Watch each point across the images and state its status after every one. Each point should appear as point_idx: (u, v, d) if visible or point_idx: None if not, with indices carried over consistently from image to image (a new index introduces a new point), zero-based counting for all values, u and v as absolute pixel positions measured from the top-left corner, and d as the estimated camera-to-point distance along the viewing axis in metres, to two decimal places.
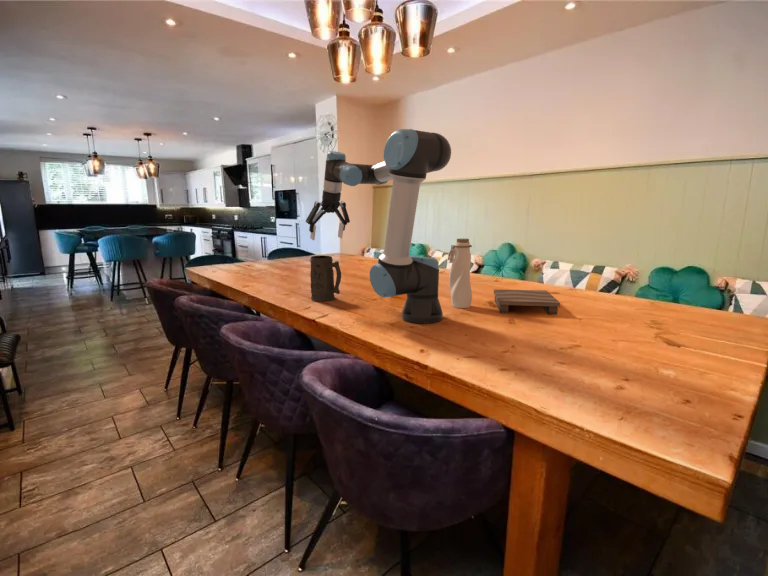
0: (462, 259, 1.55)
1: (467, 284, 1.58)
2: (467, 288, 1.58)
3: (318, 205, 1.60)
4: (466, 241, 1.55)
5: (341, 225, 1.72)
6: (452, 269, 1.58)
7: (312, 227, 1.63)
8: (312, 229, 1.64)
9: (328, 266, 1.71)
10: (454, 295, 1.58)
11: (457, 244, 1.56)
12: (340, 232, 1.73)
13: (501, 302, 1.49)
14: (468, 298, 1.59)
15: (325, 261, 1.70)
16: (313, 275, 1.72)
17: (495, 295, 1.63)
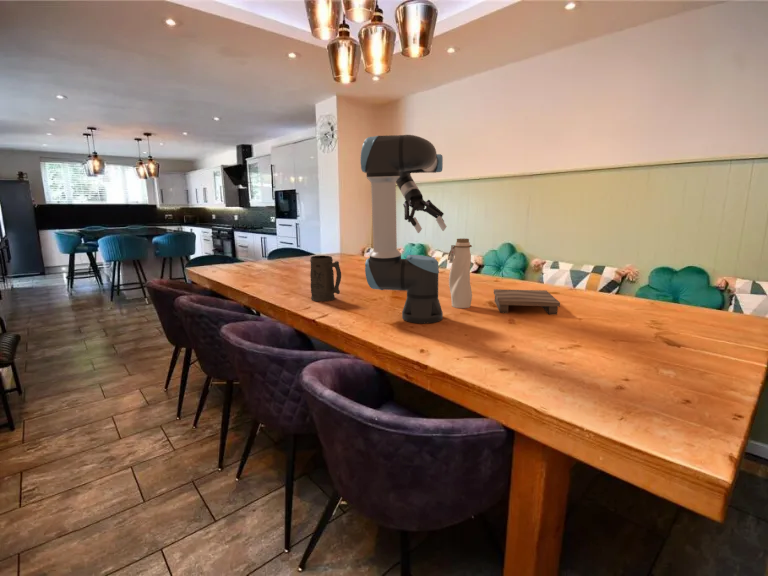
0: (462, 259, 1.55)
1: (467, 284, 1.58)
2: (467, 288, 1.58)
3: (407, 202, 1.69)
4: (466, 241, 1.55)
5: (438, 218, 1.72)
6: (452, 269, 1.58)
7: (413, 219, 1.64)
8: (414, 221, 1.64)
9: (328, 266, 1.71)
10: (454, 295, 1.58)
11: (457, 244, 1.56)
12: (441, 223, 1.71)
13: (501, 302, 1.49)
14: (468, 298, 1.59)
15: (325, 261, 1.70)
16: (313, 275, 1.72)
17: (495, 295, 1.63)
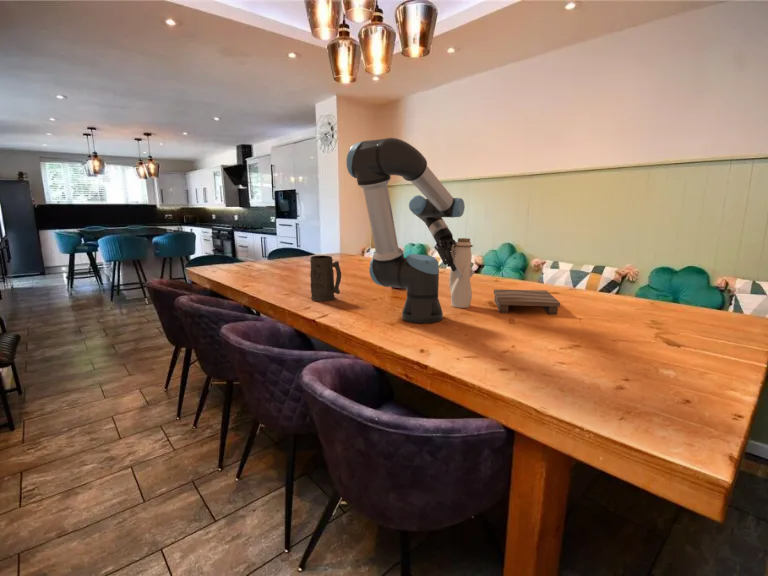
0: (462, 259, 1.56)
1: (467, 284, 1.58)
2: (467, 288, 1.58)
3: (439, 244, 1.60)
4: (467, 241, 1.55)
5: None
6: None
7: (453, 264, 1.57)
8: (454, 266, 1.56)
9: (328, 266, 1.71)
10: (454, 294, 1.58)
11: (458, 243, 1.56)
12: None
13: (501, 302, 1.49)
14: (468, 297, 1.59)
15: (325, 261, 1.70)
16: (313, 275, 1.72)
17: (495, 295, 1.63)
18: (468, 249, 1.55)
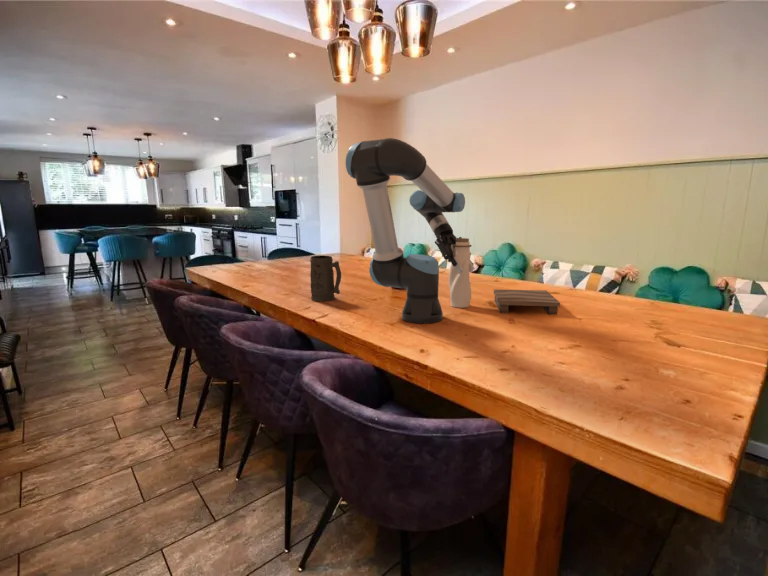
0: (461, 259, 1.56)
1: (465, 284, 1.58)
2: (465, 288, 1.58)
3: (439, 239, 1.60)
4: (465, 241, 1.55)
5: None
6: (451, 268, 1.60)
7: (453, 259, 1.56)
8: (455, 261, 1.56)
9: (328, 266, 1.71)
10: (452, 294, 1.59)
11: (456, 243, 1.57)
12: (469, 264, 1.59)
13: (501, 302, 1.49)
14: (467, 297, 1.59)
15: (325, 261, 1.70)
16: (313, 275, 1.72)
17: (495, 295, 1.63)
18: (466, 249, 1.56)
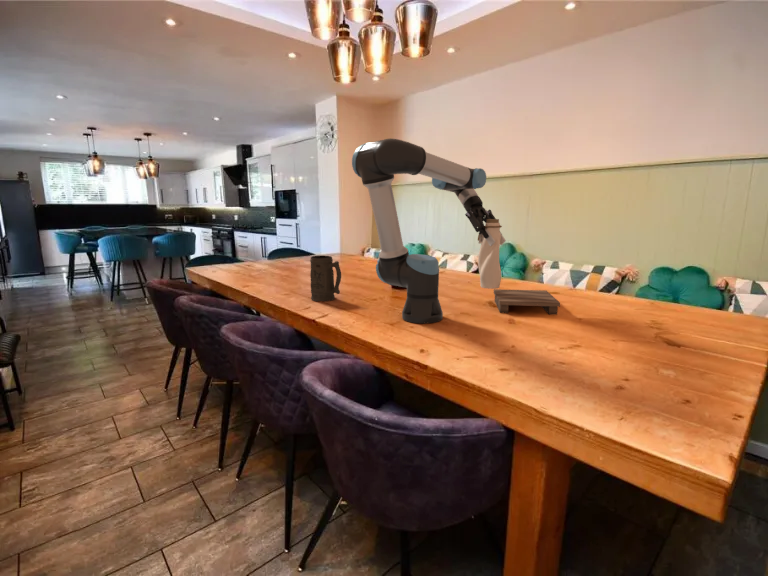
0: None
1: (496, 264, 1.58)
2: (496, 269, 1.58)
3: (470, 212, 1.59)
4: (496, 221, 1.55)
5: None
6: (481, 249, 1.59)
7: (485, 232, 1.56)
8: (486, 233, 1.55)
9: (328, 266, 1.71)
10: (483, 275, 1.59)
11: (486, 224, 1.56)
12: None
13: (501, 302, 1.49)
14: (497, 278, 1.59)
15: (325, 261, 1.70)
16: (313, 275, 1.72)
17: (495, 295, 1.63)
18: (497, 229, 1.55)
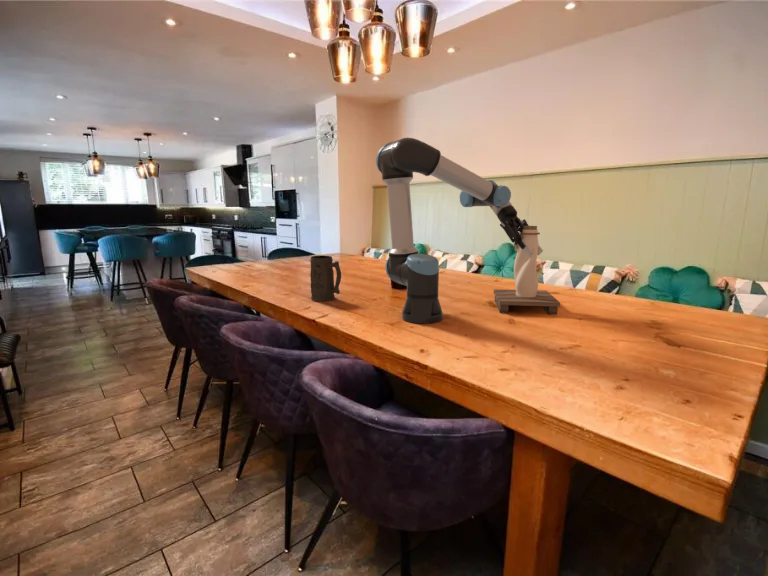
0: None
1: (533, 273, 1.53)
2: (533, 277, 1.53)
3: (505, 222, 1.55)
4: (534, 228, 1.50)
5: None
6: (518, 257, 1.55)
7: (522, 242, 1.51)
8: (523, 244, 1.51)
9: (328, 266, 1.71)
10: (519, 283, 1.54)
11: (524, 231, 1.52)
12: None
13: (501, 302, 1.49)
14: (534, 287, 1.54)
15: (325, 261, 1.70)
16: (313, 275, 1.72)
17: (495, 295, 1.63)
18: (535, 237, 1.51)
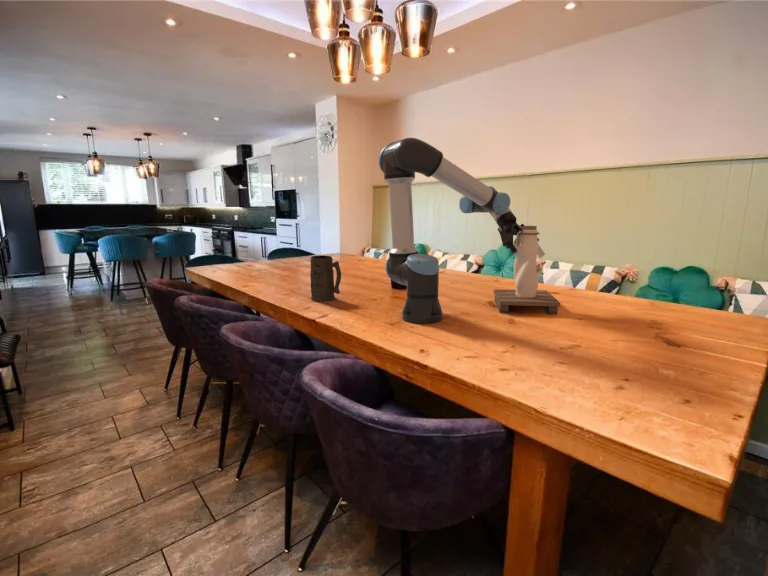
0: (528, 247, 1.51)
1: (533, 273, 1.53)
2: (532, 277, 1.53)
3: (502, 226, 1.56)
4: (533, 228, 1.50)
5: None
6: None
7: (513, 246, 1.51)
8: (514, 248, 1.51)
9: (328, 266, 1.71)
10: (519, 283, 1.54)
11: (523, 231, 1.52)
12: (539, 250, 1.56)
13: (501, 302, 1.49)
14: (534, 287, 1.54)
15: (325, 261, 1.70)
16: (313, 275, 1.72)
17: (495, 295, 1.63)
18: (534, 237, 1.50)
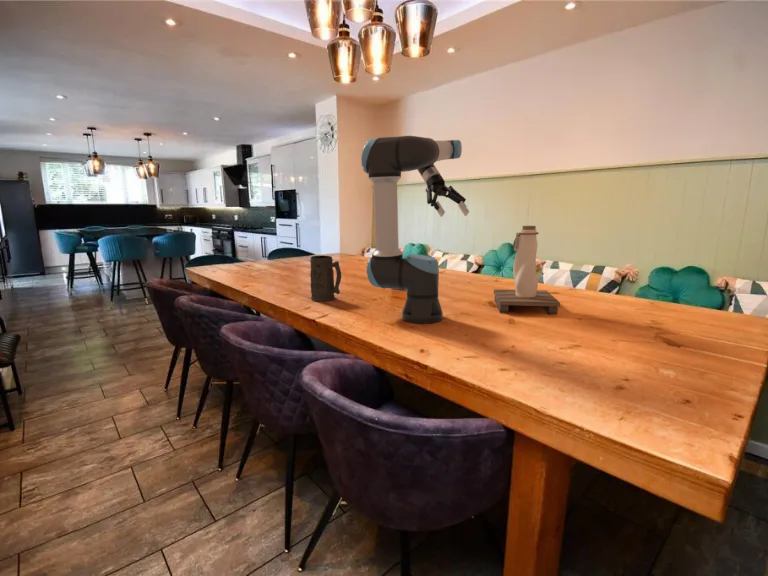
0: (527, 247, 1.51)
1: (532, 273, 1.53)
2: (532, 277, 1.53)
3: (429, 186, 1.68)
4: (532, 228, 1.50)
5: (460, 203, 1.71)
6: (517, 257, 1.55)
7: (436, 203, 1.63)
8: (437, 205, 1.63)
9: (328, 266, 1.71)
10: (518, 283, 1.54)
11: (522, 231, 1.52)
12: (464, 208, 1.69)
13: (501, 302, 1.49)
14: (533, 287, 1.54)
15: (325, 261, 1.70)
16: (313, 275, 1.72)
17: (495, 295, 1.63)
18: (534, 237, 1.50)
